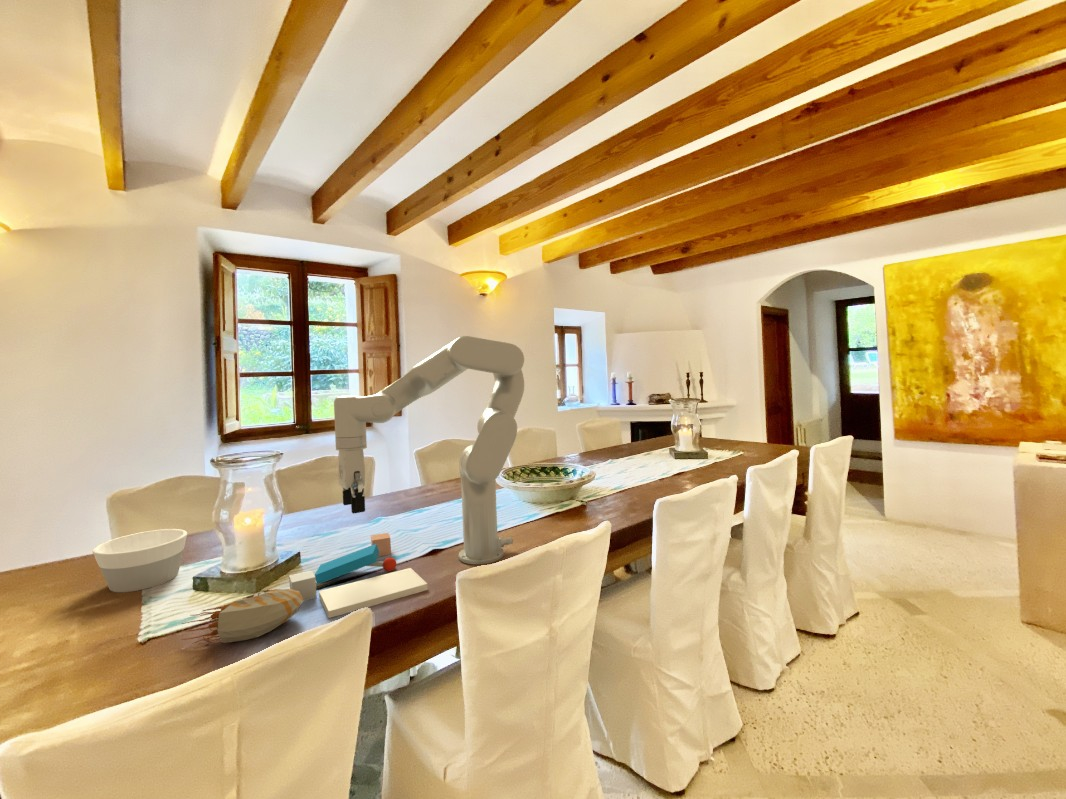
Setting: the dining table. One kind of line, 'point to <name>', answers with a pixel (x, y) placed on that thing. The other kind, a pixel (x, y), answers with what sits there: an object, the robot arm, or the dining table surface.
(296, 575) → the grey block
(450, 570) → the dining table surface
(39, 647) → the dining table surface
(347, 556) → the lever
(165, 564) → the bowl
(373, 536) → the terracotta block
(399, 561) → the dining table surface
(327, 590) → the board
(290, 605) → the nautilus
